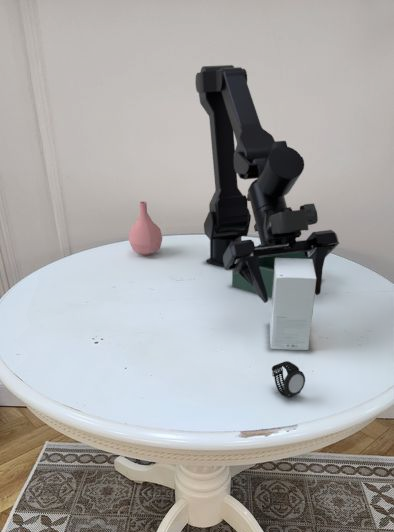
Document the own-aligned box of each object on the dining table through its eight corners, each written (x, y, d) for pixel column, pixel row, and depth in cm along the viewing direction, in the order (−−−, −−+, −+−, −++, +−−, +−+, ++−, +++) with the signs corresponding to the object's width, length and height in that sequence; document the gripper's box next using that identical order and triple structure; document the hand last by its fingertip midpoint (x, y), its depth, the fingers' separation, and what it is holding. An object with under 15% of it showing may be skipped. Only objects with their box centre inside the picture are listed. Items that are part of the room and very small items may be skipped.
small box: (309, 351, 87) (317, 278, 80) (270, 349, 88) (275, 277, 81) (305, 326, 94) (312, 257, 87) (269, 325, 95) (273, 256, 88)
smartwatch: (279, 405, 76) (281, 376, 73) (268, 384, 80) (270, 356, 77) (307, 401, 76) (310, 372, 74) (295, 380, 81) (298, 353, 78)
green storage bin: (231, 286, 108) (232, 261, 105) (262, 265, 117) (263, 241, 114) (292, 303, 102) (294, 276, 99) (319, 280, 110) (322, 255, 107)
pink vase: (154, 244, 129) (151, 195, 122) (169, 255, 123) (166, 203, 117) (124, 251, 126) (120, 201, 119) (138, 262, 120) (134, 210, 114)
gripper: (229, 191, 80) (252, 288, 77) (340, 180, 84) (367, 272, 81) (214, 225, 91) (233, 312, 88) (313, 214, 95) (336, 296, 92)
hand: (292, 297), depth 87 cm, fingers open, 9 cm apart
